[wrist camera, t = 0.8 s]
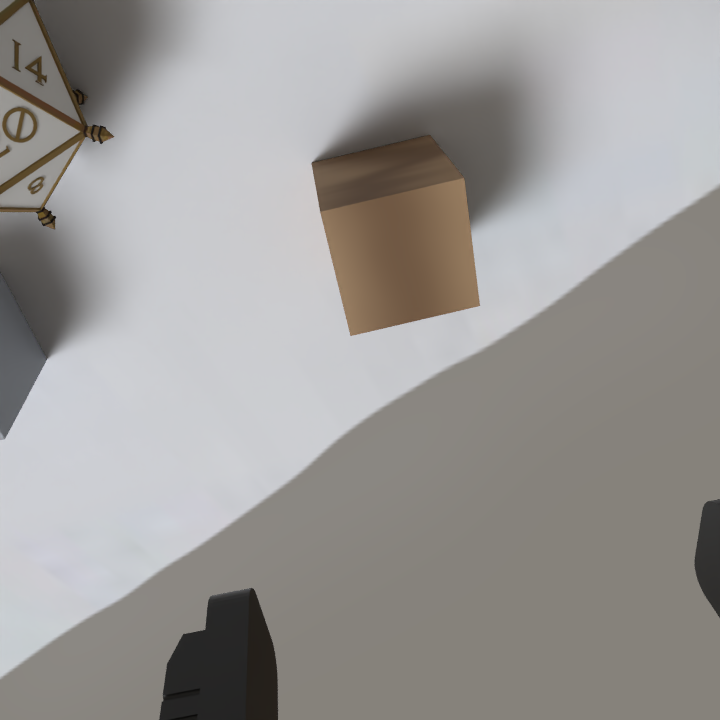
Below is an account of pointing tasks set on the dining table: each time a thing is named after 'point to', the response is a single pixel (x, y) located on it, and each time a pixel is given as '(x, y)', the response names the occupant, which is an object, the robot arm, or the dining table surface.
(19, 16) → the game die
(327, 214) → the walnut block
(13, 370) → the slate block
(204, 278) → the dining table surface
